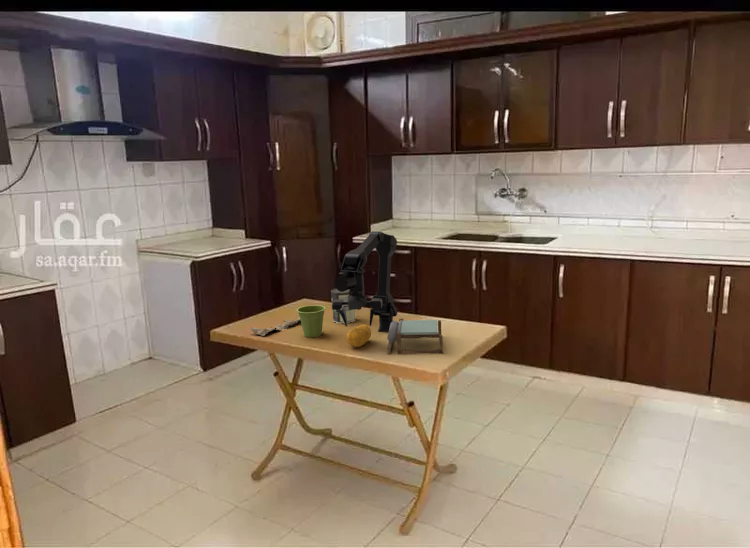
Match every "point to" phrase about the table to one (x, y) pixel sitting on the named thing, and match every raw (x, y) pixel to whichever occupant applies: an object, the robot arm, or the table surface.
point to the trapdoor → (411, 328)
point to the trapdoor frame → (399, 336)
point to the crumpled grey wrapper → (279, 327)
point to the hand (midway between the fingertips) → (358, 325)
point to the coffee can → (349, 313)
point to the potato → (359, 335)
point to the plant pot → (311, 319)
